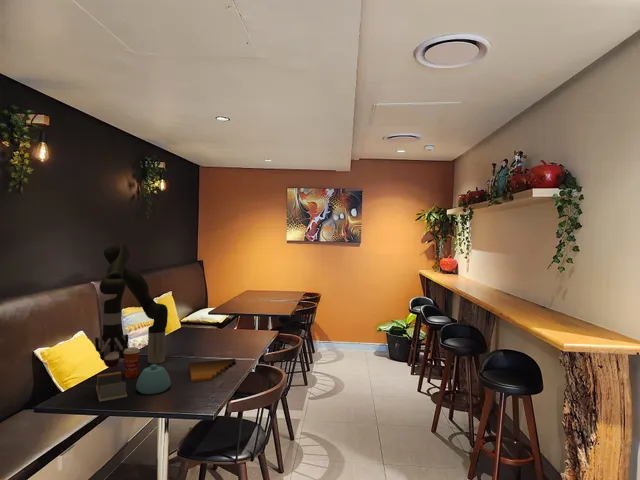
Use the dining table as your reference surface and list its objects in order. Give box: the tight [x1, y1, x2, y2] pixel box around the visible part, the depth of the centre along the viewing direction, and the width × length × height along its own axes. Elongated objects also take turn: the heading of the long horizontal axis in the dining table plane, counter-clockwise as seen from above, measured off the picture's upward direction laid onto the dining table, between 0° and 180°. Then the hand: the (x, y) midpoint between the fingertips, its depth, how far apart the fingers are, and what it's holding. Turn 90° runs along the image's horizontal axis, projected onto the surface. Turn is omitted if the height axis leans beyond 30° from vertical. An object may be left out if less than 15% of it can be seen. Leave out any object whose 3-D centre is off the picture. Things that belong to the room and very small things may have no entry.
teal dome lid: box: [135, 363, 171, 395], centre depth 191 cm, size 15×15×12 cm
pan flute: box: [188, 358, 237, 383], centre depth 217 cm, size 25×3×25 cm
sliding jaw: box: [96, 371, 122, 387], centre depth 193 cm, size 2×10×5 cm, turn 123°
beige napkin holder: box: [95, 381, 128, 402], centre depth 187 cm, size 19×11×6 cm, turn 33°
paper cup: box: [123, 347, 141, 379], centre depth 208 cm, size 8×8×14 cm
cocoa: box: [103, 345, 120, 368], centre depth 186 cm, size 10×6×12 cm, turn 5°
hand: (111, 358), depth 186 cm, fingers closed on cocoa, 6 cm apart
